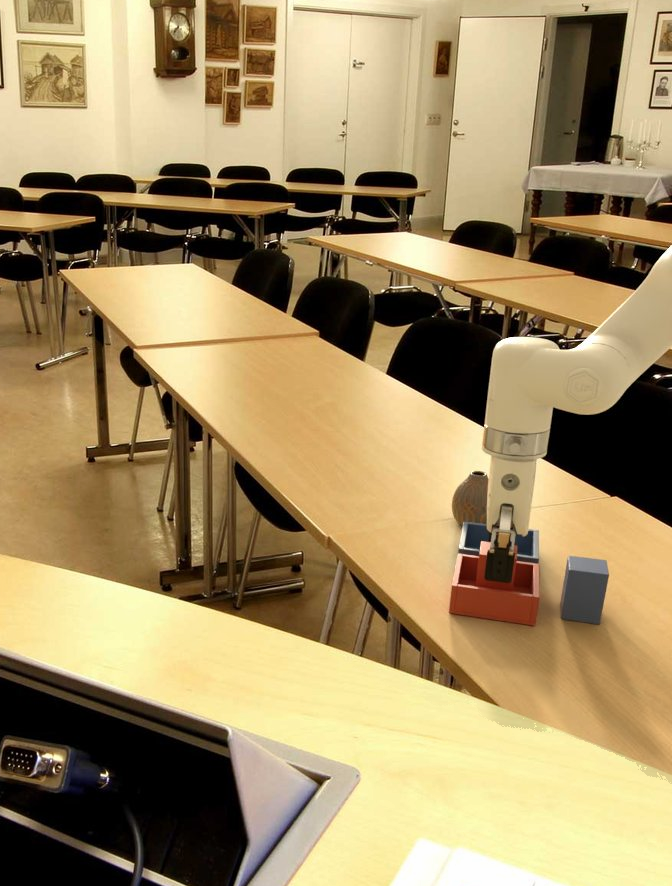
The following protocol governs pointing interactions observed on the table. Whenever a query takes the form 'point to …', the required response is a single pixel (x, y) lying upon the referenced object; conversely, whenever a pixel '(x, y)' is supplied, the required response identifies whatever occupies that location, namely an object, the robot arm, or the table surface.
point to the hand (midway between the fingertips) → (498, 565)
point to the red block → (481, 570)
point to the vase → (471, 499)
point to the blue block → (584, 589)
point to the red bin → (495, 593)
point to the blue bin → (479, 532)
